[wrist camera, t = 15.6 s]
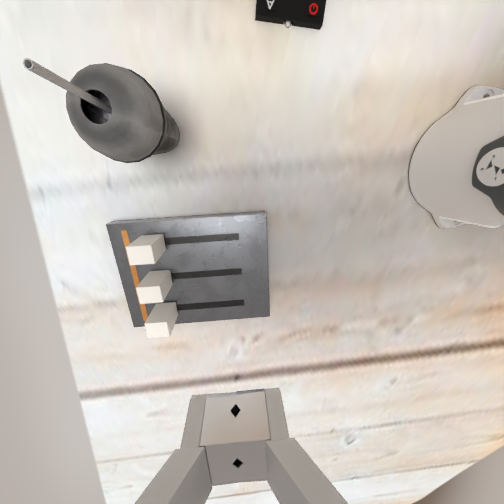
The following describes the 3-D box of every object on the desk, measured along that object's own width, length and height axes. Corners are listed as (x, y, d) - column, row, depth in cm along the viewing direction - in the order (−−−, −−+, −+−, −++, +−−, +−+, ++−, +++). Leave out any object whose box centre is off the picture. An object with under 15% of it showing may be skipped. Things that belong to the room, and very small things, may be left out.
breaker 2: (170, 269, 35) (159, 285, 31) (172, 284, 36) (163, 302, 31) (149, 271, 35) (135, 287, 30) (152, 285, 36) (139, 304, 31)
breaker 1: (163, 233, 33) (150, 245, 29) (166, 250, 34) (154, 263, 30) (141, 235, 33) (125, 247, 29) (144, 251, 34) (130, 265, 29)
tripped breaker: (175, 302, 37) (166, 322, 33) (178, 315, 38) (169, 336, 33) (156, 303, 37) (144, 323, 32) (158, 316, 38) (147, 338, 33)
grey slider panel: (264, 211, 35) (266, 213, 33) (268, 309, 41) (269, 316, 39) (113, 221, 35) (105, 224, 33) (138, 319, 41) (133, 327, 39)
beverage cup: (158, 174, 33) (53, 187, 14) (120, 123, 30) (-67, 59, 12) (201, 142, 32) (149, 112, 13) (165, 87, 29) (38, -45, 11)
